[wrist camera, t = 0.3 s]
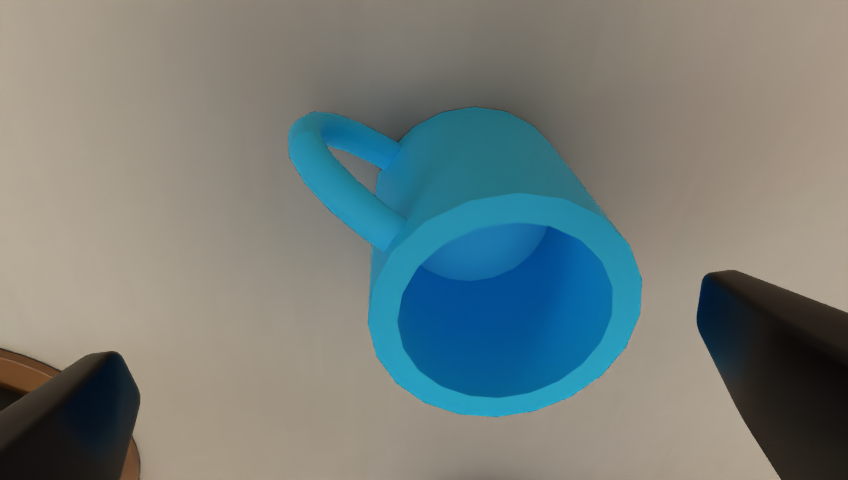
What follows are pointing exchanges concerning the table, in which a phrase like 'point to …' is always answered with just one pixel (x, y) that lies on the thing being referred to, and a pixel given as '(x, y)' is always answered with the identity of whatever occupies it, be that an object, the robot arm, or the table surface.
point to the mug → (478, 258)
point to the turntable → (31, 374)
